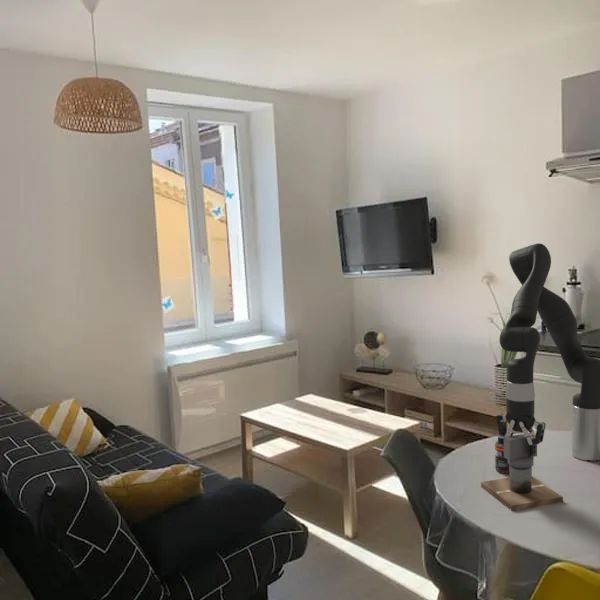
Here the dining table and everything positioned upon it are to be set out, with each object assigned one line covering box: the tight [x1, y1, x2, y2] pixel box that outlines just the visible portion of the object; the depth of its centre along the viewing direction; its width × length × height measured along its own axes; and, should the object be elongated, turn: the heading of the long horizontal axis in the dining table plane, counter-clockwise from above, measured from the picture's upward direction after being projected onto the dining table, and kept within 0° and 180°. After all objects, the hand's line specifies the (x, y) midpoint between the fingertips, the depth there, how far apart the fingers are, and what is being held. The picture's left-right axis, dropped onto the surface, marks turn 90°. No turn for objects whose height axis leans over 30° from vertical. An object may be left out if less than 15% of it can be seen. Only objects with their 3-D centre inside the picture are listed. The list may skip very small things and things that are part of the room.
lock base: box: [480, 465, 564, 511], centre depth 173 cm, size 16×16×9 cm
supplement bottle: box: [494, 434, 510, 474], centre depth 190 cm, size 6×6×11 cm
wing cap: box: [504, 431, 538, 468], centre depth 172 cm, size 9×7×8 cm
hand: (520, 453), depth 172 cm, fingers open, 5 cm apart
